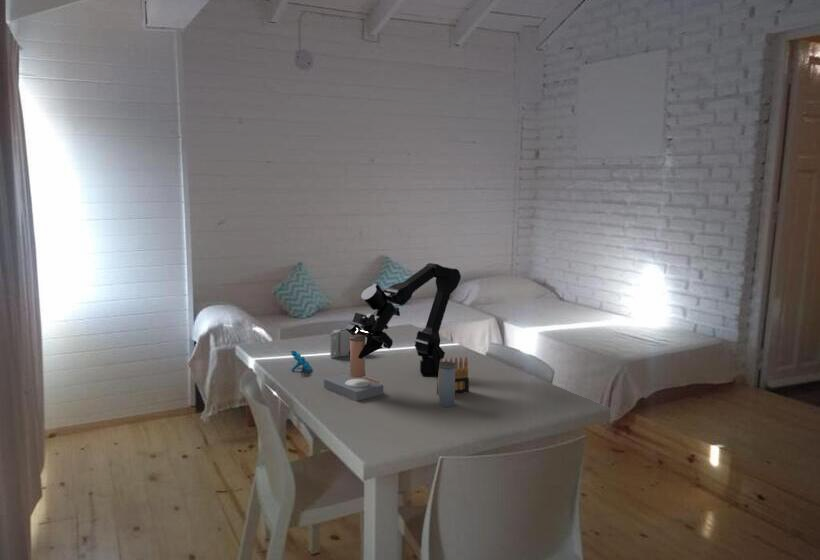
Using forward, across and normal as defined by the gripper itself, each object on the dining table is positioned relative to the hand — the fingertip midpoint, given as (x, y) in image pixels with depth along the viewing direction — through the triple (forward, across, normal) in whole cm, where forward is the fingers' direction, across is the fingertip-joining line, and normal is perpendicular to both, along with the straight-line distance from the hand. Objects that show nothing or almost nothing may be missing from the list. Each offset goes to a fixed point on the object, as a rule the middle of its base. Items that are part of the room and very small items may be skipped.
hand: (354, 356), depth 215 cm
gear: (+8, -33, +10) cm, 35 cm away
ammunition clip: (-9, +20, +27) cm, 35 cm away
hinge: (-9, -40, +27) cm, 49 cm away
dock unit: (+8, -2, +10) cm, 13 cm away
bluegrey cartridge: (-2, +27, +20) cm, 33 cm away
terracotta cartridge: (+4, 0, +6) cm, 7 cm away
